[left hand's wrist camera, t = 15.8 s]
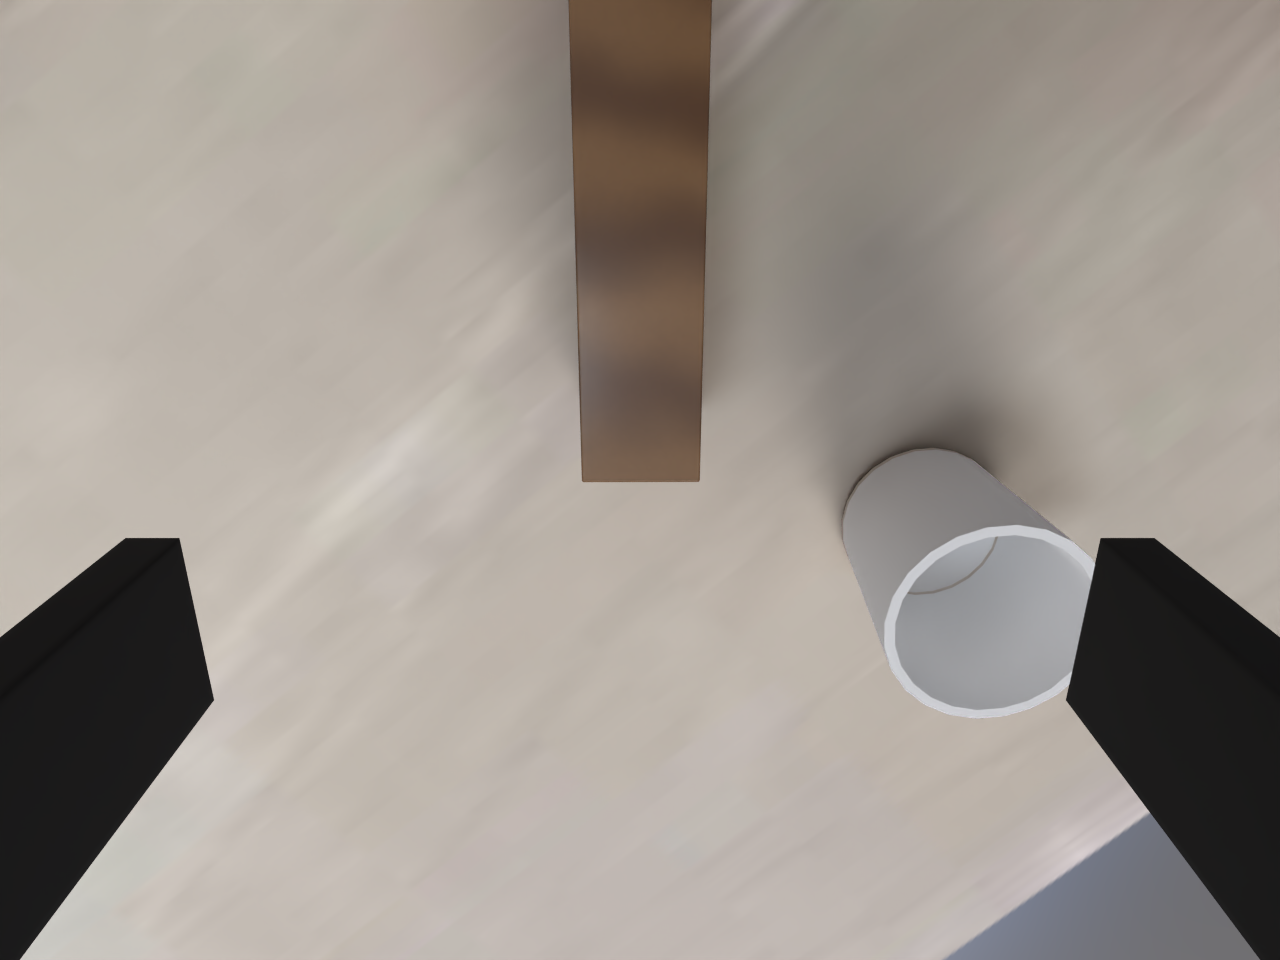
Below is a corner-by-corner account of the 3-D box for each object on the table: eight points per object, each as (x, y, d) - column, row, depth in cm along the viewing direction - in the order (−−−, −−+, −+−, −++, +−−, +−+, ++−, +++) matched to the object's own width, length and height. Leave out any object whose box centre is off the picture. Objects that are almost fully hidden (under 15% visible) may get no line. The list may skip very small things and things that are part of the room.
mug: (821, 594, 46) (869, 715, 37) (843, 433, 43) (901, 520, 33) (1028, 601, 47) (1129, 723, 37) (1065, 442, 43) (1187, 531, 34)
